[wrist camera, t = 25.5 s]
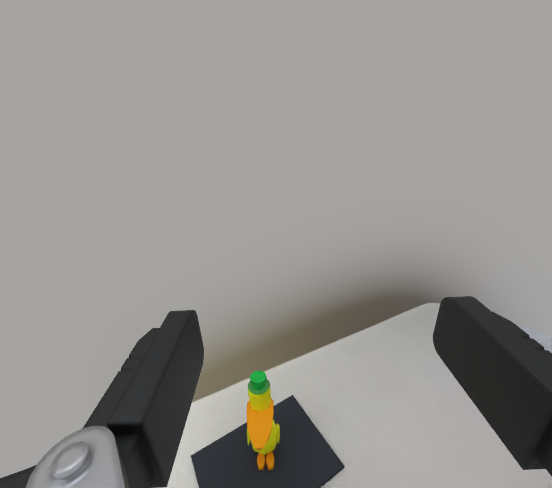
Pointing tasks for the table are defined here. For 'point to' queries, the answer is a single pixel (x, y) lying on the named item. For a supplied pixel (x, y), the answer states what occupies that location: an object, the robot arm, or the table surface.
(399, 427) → the table surface
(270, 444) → the toy figure
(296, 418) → the rubber pad
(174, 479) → the table surface
